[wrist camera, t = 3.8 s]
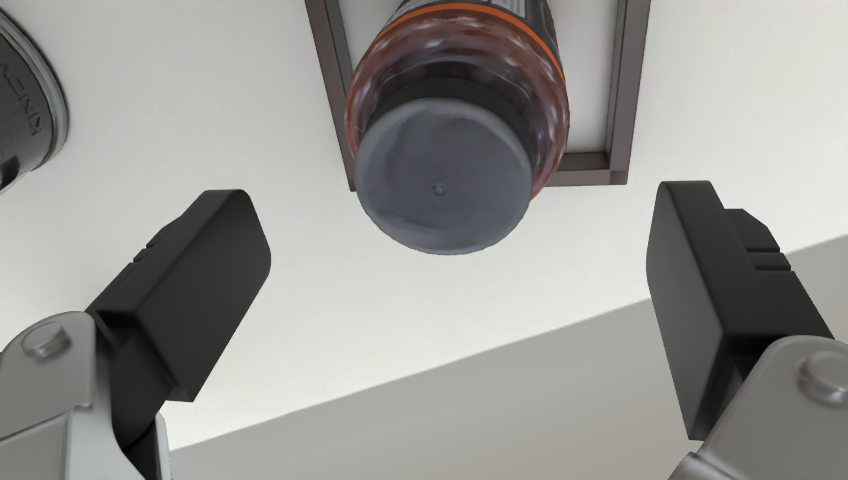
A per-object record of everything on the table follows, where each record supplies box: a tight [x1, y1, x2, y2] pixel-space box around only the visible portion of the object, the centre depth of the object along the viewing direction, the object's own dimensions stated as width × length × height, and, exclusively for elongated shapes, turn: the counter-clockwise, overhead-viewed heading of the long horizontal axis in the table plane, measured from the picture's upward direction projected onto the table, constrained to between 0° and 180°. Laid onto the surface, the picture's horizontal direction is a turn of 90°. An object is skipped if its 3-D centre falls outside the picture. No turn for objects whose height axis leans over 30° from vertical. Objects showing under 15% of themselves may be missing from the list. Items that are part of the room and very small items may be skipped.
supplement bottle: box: [345, 0, 570, 255], centre depth 16 cm, size 6×6×11 cm
